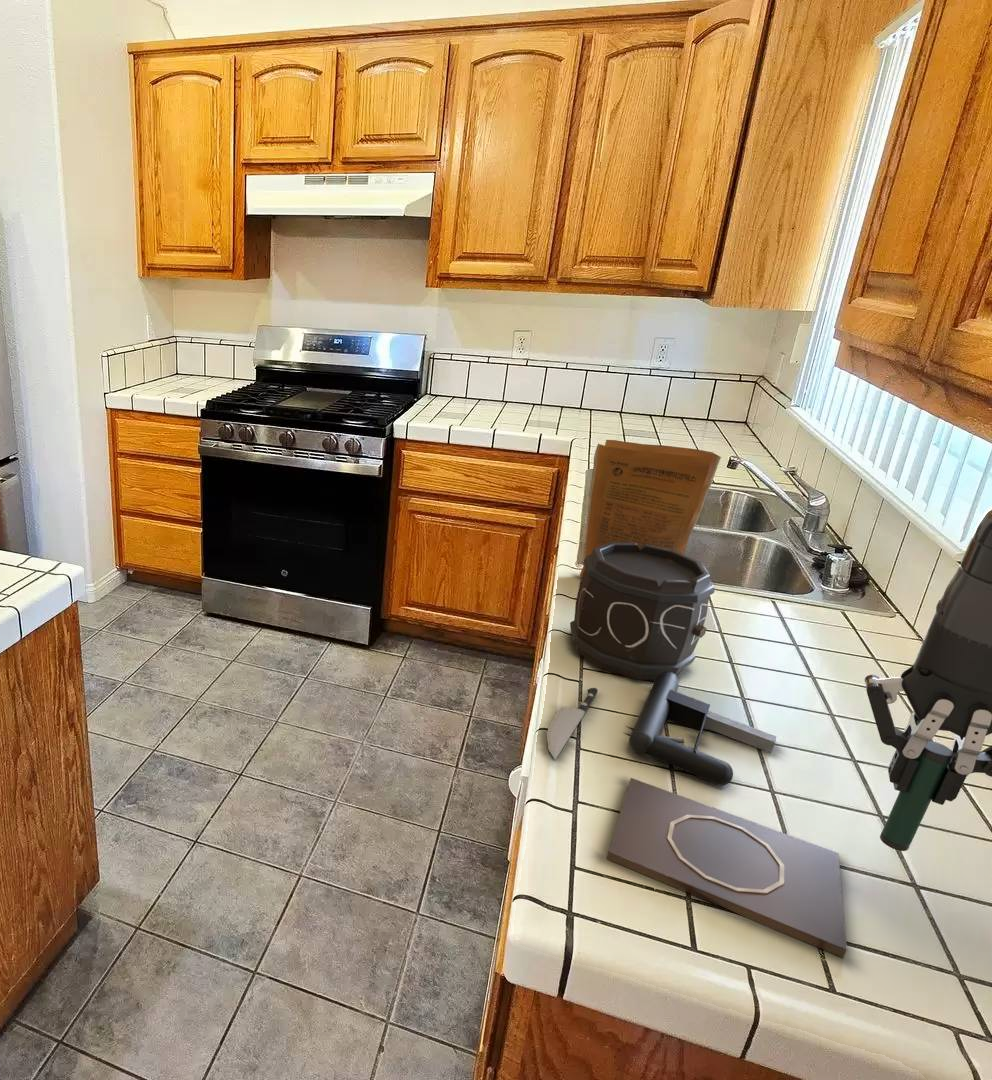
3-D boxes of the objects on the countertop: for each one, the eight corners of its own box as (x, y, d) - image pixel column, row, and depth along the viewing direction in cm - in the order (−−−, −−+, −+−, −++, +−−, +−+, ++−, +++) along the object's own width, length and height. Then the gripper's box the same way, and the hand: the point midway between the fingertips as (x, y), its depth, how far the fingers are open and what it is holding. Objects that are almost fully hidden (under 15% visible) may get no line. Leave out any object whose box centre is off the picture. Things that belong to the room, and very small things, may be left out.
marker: (907, 840, 72) (951, 746, 68) (910, 855, 71) (955, 759, 66) (877, 830, 74) (919, 736, 69) (880, 844, 72) (923, 749, 68)
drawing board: (835, 860, 78) (839, 852, 78) (843, 958, 67) (847, 949, 67) (628, 784, 88) (631, 776, 87) (606, 858, 77) (608, 850, 76)
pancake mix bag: (678, 610, 132) (720, 456, 122) (566, 582, 142) (597, 436, 131) (683, 597, 137) (723, 448, 127) (575, 570, 147) (604, 430, 137)
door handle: (781, 710, 100) (652, 663, 108) (770, 790, 84) (620, 729, 92) (772, 730, 101) (645, 683, 109) (760, 813, 86) (613, 751, 94)
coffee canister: (660, 700, 105) (688, 599, 99) (545, 647, 118) (564, 554, 112) (714, 662, 116) (742, 568, 110) (604, 617, 128) (624, 531, 123)
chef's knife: (530, 752, 93) (554, 761, 91) (531, 744, 92) (556, 753, 91) (576, 687, 107) (598, 693, 105) (577, 680, 107) (599, 686, 105)
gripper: (895, 620, 64) (829, 784, 70) (1122, 673, 57) (1026, 850, 63) (886, 590, 70) (825, 744, 76) (1091, 635, 63) (1006, 800, 69)
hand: (917, 792), depth 70 cm, fingers closed on marker, 2 cm apart
